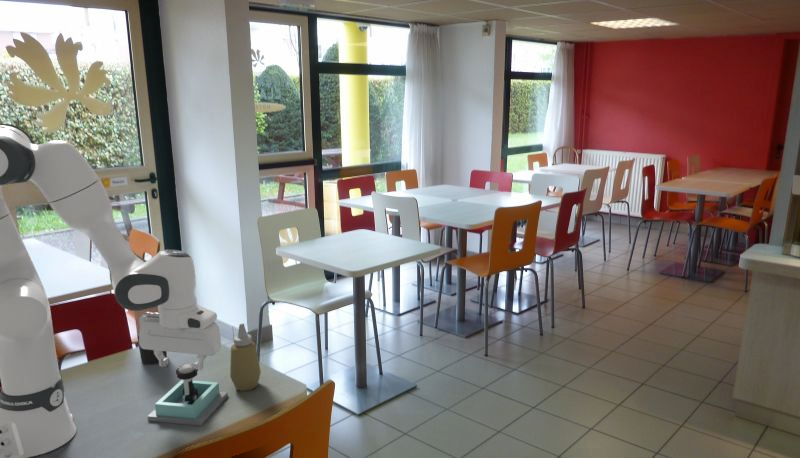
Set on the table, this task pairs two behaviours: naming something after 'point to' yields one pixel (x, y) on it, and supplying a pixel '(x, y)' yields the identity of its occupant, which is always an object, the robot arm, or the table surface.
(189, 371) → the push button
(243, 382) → the squeeze bottle
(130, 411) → the table surface
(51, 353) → the robot arm
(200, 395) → the socket plate
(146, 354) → the travel mug
